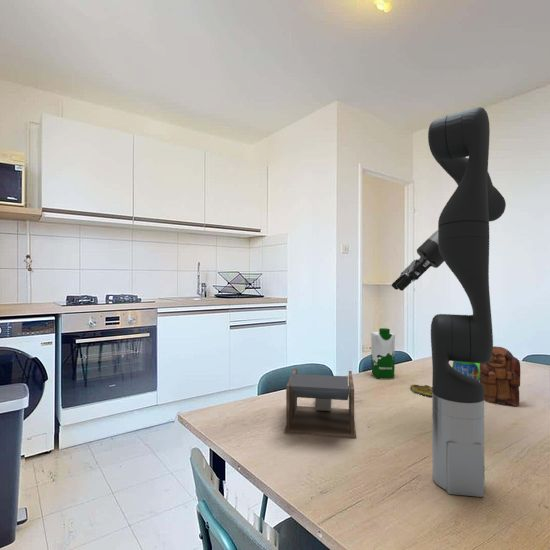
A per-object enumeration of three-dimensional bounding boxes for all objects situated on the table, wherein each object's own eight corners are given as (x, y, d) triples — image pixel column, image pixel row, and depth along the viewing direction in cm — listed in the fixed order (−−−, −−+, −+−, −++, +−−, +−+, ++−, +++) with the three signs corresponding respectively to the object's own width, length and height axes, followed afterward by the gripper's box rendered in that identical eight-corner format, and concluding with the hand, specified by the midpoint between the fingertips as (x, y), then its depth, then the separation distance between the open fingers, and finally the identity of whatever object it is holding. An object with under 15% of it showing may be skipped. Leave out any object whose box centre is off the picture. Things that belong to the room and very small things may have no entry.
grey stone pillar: (330, 393, 107) (331, 385, 119) (315, 392, 108) (317, 385, 120) (330, 411, 107) (331, 401, 119) (315, 410, 108) (317, 400, 119)
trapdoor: (350, 389, 87) (349, 376, 88) (288, 385, 89) (288, 373, 90) (347, 403, 106) (347, 393, 107) (296, 400, 108) (297, 390, 110)
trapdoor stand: (356, 438, 91) (356, 389, 91) (284, 433, 94) (284, 385, 94) (353, 412, 109) (353, 371, 109) (292, 408, 112) (292, 368, 113)
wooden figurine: (477, 400, 120) (476, 346, 120) (480, 395, 125) (480, 343, 125) (520, 408, 113) (519, 350, 113) (521, 403, 118) (521, 347, 118)
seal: (403, 393, 131) (442, 405, 119) (402, 381, 131) (441, 391, 119) (417, 386, 137) (457, 396, 124) (416, 374, 136) (456, 383, 124)
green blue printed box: (444, 378, 147) (444, 353, 147) (469, 378, 147) (469, 353, 147) (465, 390, 131) (465, 362, 131) (493, 390, 131) (493, 362, 131)
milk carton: (375, 379, 144) (375, 329, 145) (369, 373, 154) (369, 326, 154) (397, 379, 145) (397, 329, 145) (389, 373, 154) (389, 326, 154)
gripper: (422, 240, 108) (383, 278, 110) (435, 235, 94) (390, 278, 96) (441, 258, 107) (401, 296, 109) (457, 255, 93) (411, 298, 95)
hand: (396, 288), depth 103 cm, fingers open, 8 cm apart
